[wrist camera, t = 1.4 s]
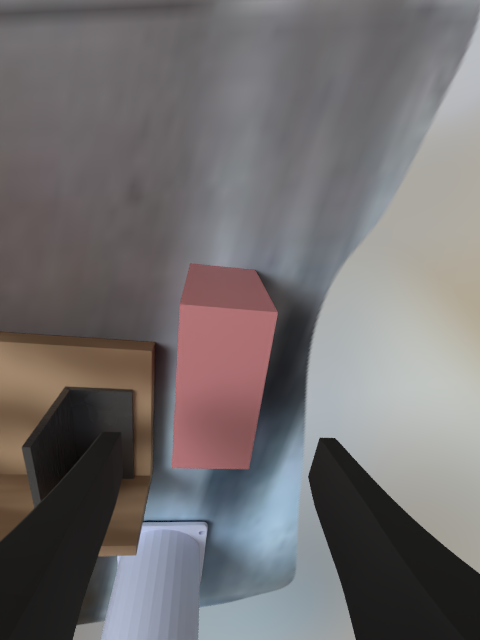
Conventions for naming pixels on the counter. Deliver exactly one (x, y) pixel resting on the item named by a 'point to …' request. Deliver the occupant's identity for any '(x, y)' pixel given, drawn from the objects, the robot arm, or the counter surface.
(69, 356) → the shelf
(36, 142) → the counter surface
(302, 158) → the counter surface
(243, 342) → the tall pink block
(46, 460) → the bookend
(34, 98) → the counter surface
